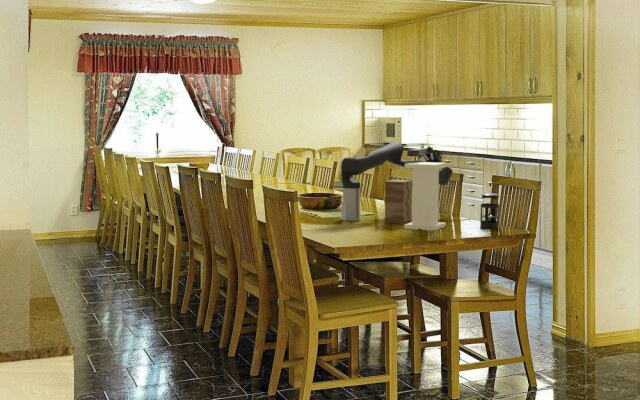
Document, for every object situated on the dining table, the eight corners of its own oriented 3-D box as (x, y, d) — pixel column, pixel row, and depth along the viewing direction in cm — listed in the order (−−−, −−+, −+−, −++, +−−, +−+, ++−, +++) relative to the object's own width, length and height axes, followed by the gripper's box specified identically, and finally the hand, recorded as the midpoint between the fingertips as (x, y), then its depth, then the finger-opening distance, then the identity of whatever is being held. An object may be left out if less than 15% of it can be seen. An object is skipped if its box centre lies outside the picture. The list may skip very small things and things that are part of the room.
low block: (403, 223, 430) (403, 182, 428) (385, 222, 435) (385, 181, 433) (411, 220, 441) (411, 180, 439) (393, 219, 446) (394, 179, 443)
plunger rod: (416, 156, 419) (416, 150, 419) (405, 156, 422) (405, 150, 422) (435, 153, 442) (435, 147, 442) (424, 152, 445) (425, 147, 445)
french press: (495, 230, 406) (495, 183, 404) (476, 229, 411) (477, 182, 408) (502, 227, 416) (503, 181, 414) (484, 226, 421) (485, 180, 418)
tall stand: (434, 230, 406) (435, 164, 402) (404, 228, 413) (404, 163, 410) (445, 226, 420) (446, 162, 416) (415, 224, 427) (416, 161, 424)
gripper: (446, 169, 446) (436, 154, 432) (421, 168, 453) (411, 153, 439) (448, 156, 449) (439, 141, 435) (424, 155, 456) (414, 140, 442)
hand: (425, 147), depth 437 cm, fingers closed on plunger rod, 3 cm apart
